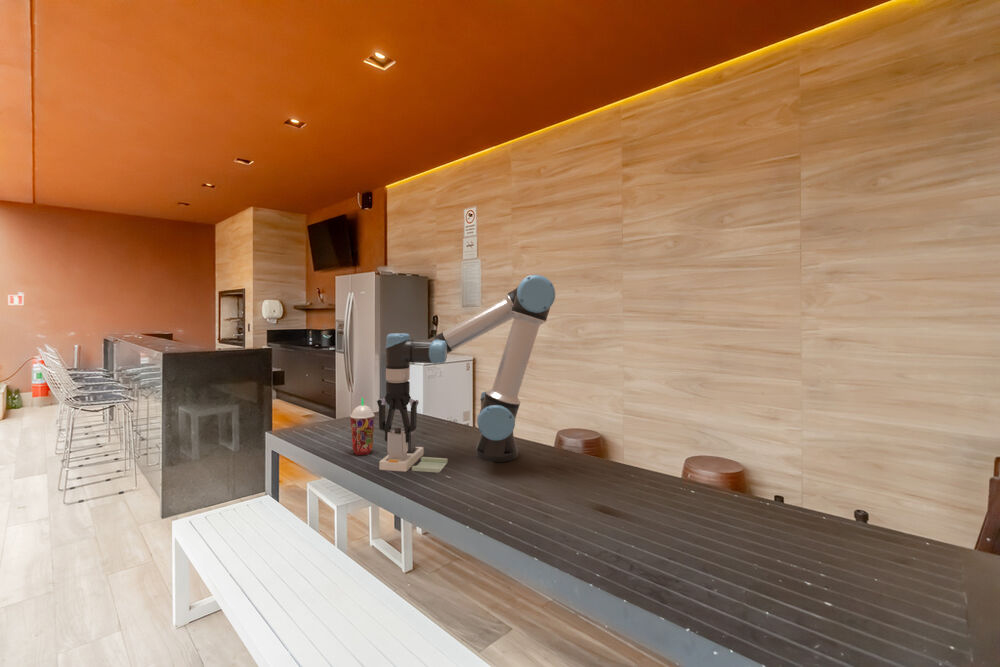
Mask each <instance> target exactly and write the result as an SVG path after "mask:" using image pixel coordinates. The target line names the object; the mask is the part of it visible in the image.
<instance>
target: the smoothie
mask: <svg viewBox="0 0 1000 667" xmlns="http://www.w3.org/2000/svg"><path fill="white" fill-rule="evenodd" d="M374 426H375V413H374V412H373V409H372V408H371V407H370V406H368V405H366V404H364V397H361V404H359V405H358V406H356V407H355V408H353V410H352V411H351V414H350V427H351V428H350V429H351V444H352V451H353V453H354V455H357V456H364V455H365V456H366V455H369V454H371V453H372V450H373V444H374V441H373V440H374V430H375V429H374Z"/></svg>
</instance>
